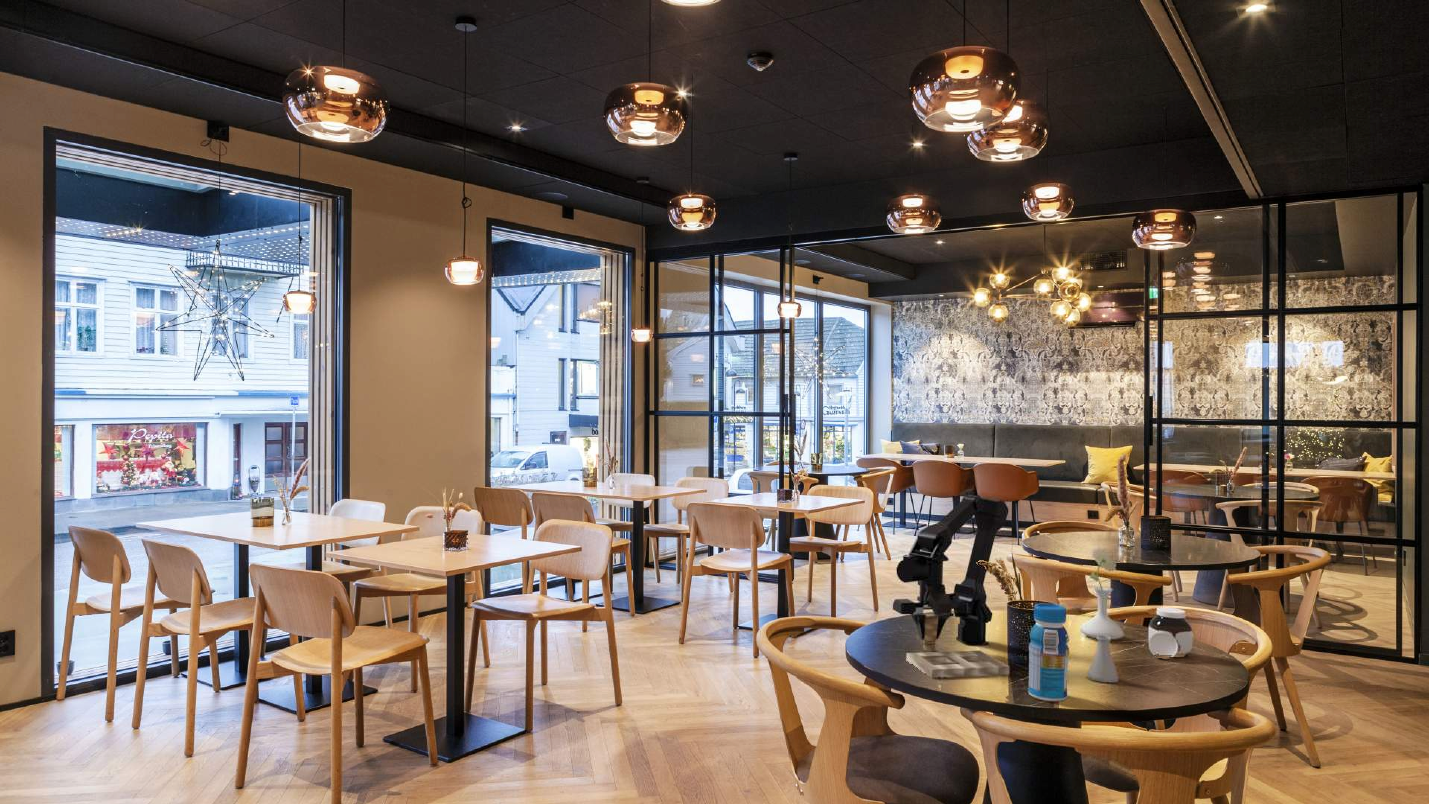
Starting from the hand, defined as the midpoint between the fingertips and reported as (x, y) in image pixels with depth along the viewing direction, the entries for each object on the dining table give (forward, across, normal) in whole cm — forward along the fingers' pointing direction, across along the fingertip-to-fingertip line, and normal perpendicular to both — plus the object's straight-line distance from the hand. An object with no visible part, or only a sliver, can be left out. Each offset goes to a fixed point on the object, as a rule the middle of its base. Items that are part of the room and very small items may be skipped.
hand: (929, 639), depth 241 cm
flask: (+3, +31, -28) cm, 42 cm away
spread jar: (+3, +62, -12) cm, 63 cm away
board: (+3, 0, -15) cm, 15 cm away
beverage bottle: (+3, +10, -38) cm, 39 cm away
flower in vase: (+3, +56, +8) cm, 57 cm away
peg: (+3, 0, 0) cm, 3 cm away
